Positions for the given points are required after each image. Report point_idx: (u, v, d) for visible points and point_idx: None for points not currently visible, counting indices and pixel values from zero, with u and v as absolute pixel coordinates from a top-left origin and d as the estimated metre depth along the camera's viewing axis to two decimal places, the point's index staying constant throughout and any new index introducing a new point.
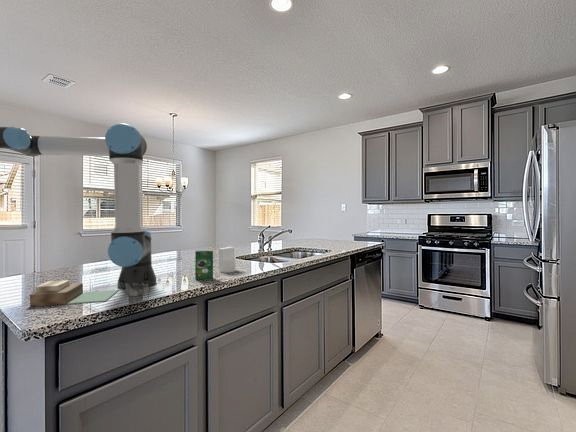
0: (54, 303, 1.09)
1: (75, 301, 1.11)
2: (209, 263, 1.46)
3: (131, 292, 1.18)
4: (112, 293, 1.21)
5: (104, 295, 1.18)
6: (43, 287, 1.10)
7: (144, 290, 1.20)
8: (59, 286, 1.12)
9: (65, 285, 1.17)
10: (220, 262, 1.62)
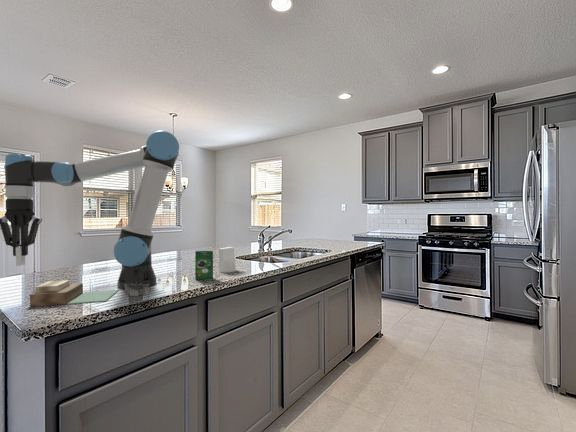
0: (54, 303, 1.09)
1: (75, 301, 1.11)
2: (209, 263, 1.46)
3: (132, 292, 1.18)
4: (112, 293, 1.21)
5: (104, 295, 1.18)
6: (43, 287, 1.10)
7: (145, 290, 1.21)
8: (59, 286, 1.12)
9: (65, 285, 1.17)
10: (220, 262, 1.62)
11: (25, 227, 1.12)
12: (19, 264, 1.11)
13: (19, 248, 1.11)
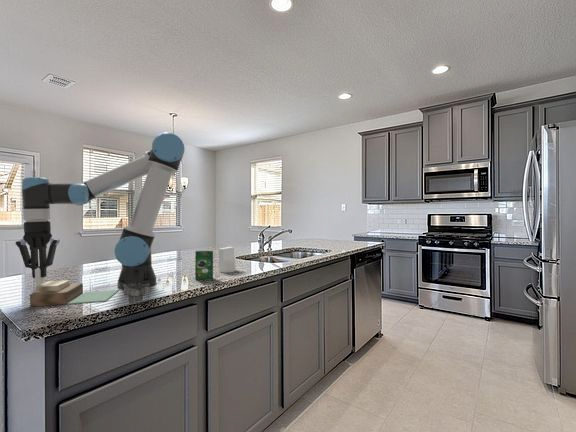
0: (54, 303, 1.09)
1: (75, 301, 1.11)
2: (209, 263, 1.46)
3: (133, 292, 1.18)
4: (112, 293, 1.21)
5: (104, 295, 1.18)
6: (43, 287, 1.10)
7: (145, 290, 1.21)
8: (59, 286, 1.12)
9: (65, 285, 1.17)
10: (220, 262, 1.62)
11: (43, 249, 1.14)
12: None
13: (38, 270, 1.13)
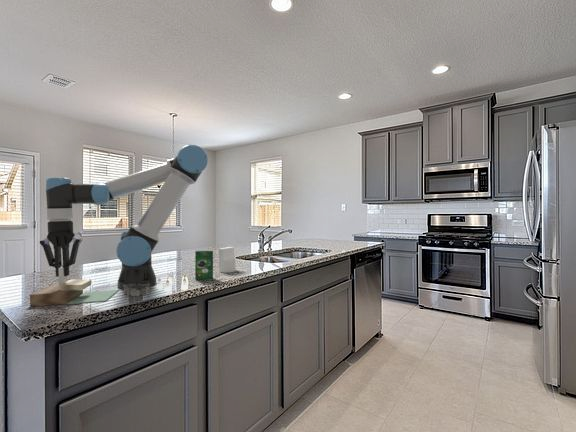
0: (54, 303, 1.09)
1: (75, 301, 1.11)
2: (209, 263, 1.46)
3: (133, 292, 1.18)
4: (112, 293, 1.21)
5: (104, 295, 1.18)
6: (67, 285, 1.12)
7: (146, 290, 1.21)
8: (82, 285, 1.14)
9: (87, 284, 1.18)
10: (220, 262, 1.62)
11: (66, 248, 1.15)
12: None
13: (61, 269, 1.14)
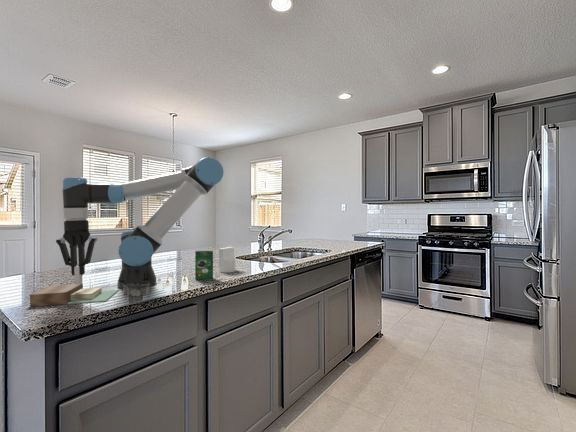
0: (54, 303, 1.09)
1: (75, 301, 1.11)
2: (209, 263, 1.46)
3: (134, 292, 1.18)
4: (112, 293, 1.21)
5: (104, 295, 1.18)
6: (78, 295, 1.13)
7: (146, 289, 1.21)
8: (93, 294, 1.15)
9: (98, 293, 1.19)
10: (220, 262, 1.62)
11: (82, 247, 1.17)
12: (78, 283, 1.16)
13: (77, 268, 1.15)
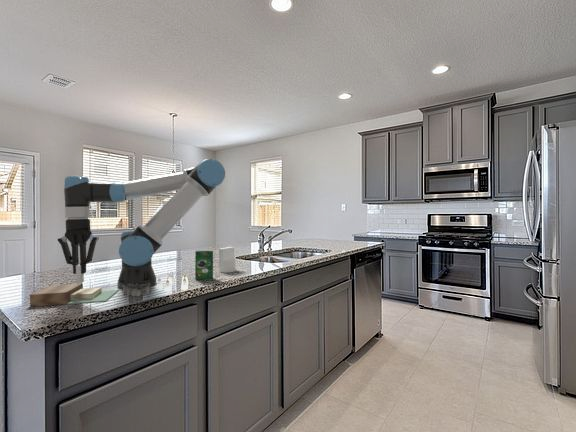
0: (54, 303, 1.09)
1: (75, 301, 1.11)
2: (209, 263, 1.46)
3: (134, 292, 1.18)
4: (112, 293, 1.21)
5: (104, 295, 1.18)
6: (78, 295, 1.13)
7: (146, 289, 1.21)
8: (93, 294, 1.15)
9: (98, 293, 1.19)
10: (220, 262, 1.62)
11: (84, 246, 1.17)
12: (79, 282, 1.16)
13: (79, 266, 1.16)
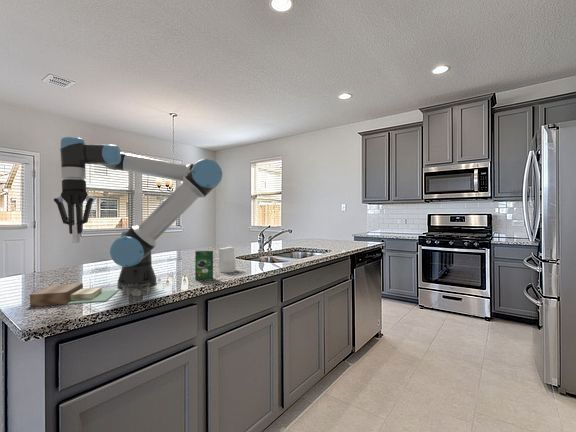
0: (54, 303, 1.09)
1: (75, 301, 1.11)
2: (209, 263, 1.46)
3: (135, 292, 1.18)
4: (112, 293, 1.21)
5: (104, 295, 1.18)
6: (78, 295, 1.13)
7: (147, 289, 1.21)
8: (93, 294, 1.15)
9: (98, 293, 1.19)
10: (220, 262, 1.62)
11: (80, 206, 1.19)
12: (75, 241, 1.18)
13: (75, 226, 1.18)
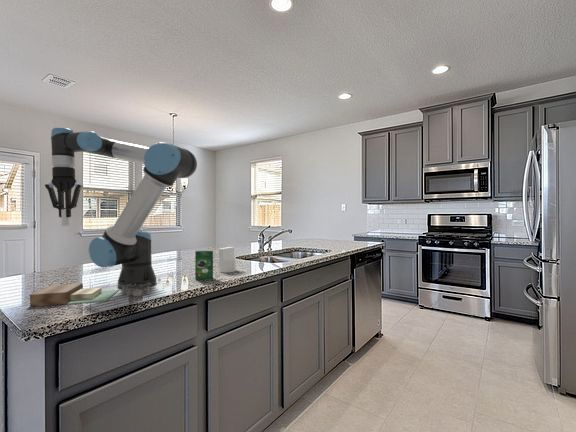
0: (54, 303, 1.09)
1: (75, 301, 1.11)
2: (209, 263, 1.46)
3: (136, 292, 1.18)
4: (112, 293, 1.21)
5: (104, 295, 1.18)
6: (78, 295, 1.13)
7: (147, 289, 1.22)
8: (93, 294, 1.15)
9: (98, 293, 1.19)
10: (220, 262, 1.62)
11: (69, 192, 1.28)
12: (64, 224, 1.28)
13: (64, 210, 1.27)
